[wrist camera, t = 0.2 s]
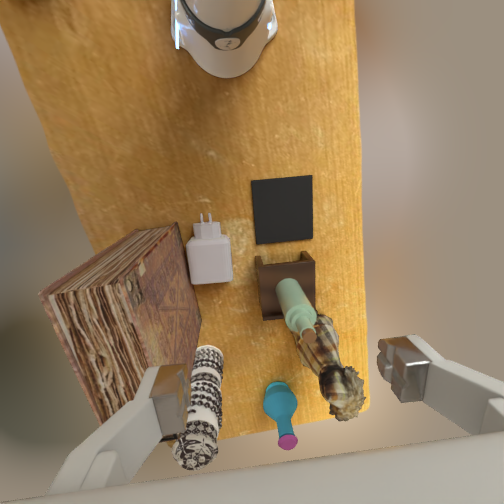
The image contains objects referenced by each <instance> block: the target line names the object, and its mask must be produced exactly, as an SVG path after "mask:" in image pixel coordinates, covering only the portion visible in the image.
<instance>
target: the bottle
mask: <svg viewBox="0 0 504 504" xmlns="http://www.w3.org/2000/svg"><path fill="white" fill-rule="evenodd" d="M275 293H276V296H277V299H278V302H279V305H280V308H281V311H282V314H283V317H284V320H285V322H286V325H287V326H288V328H289V329H291V330H293V331H295V332H299V334H300V337H301V338H302V339H303V341H304V342H305V343H308V344H310V343H313V342H314V341H315V340H316V338H317V335H316V330H315V328H314V326H313V325H314V324H315V322H316V318H317V315H316V311H315V310H314V308H313V306H312V305H311V303H310V301H309V299H308V298H307V296H306V294H305V292H304V291H303V289H302V287H301V286H300V284H299V282H298V281H296V280H295V279H291V278H287V279H284V280H282V281H280V282H279V283H278V284H277V286H276V289H275Z"/></svg>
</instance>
